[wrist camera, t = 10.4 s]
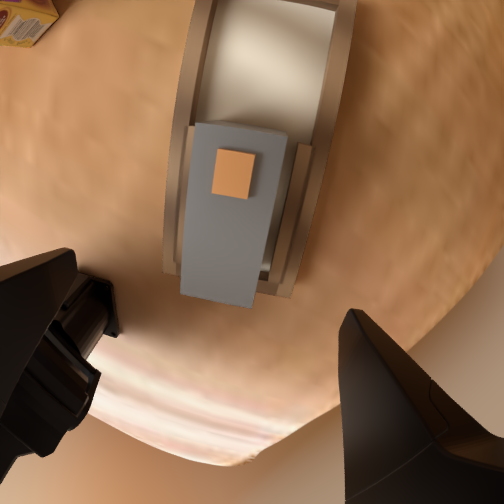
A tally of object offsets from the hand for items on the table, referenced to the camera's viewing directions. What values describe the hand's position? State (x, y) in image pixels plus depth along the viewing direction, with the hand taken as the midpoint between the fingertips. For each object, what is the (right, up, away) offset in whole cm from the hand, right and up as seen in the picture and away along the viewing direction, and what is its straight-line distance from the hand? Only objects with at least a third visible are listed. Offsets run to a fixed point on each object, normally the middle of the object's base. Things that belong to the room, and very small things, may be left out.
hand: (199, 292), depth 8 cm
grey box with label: (+1, +5, +10) cm, 11 cm away
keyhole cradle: (+2, +8, +8) cm, 12 cm away
